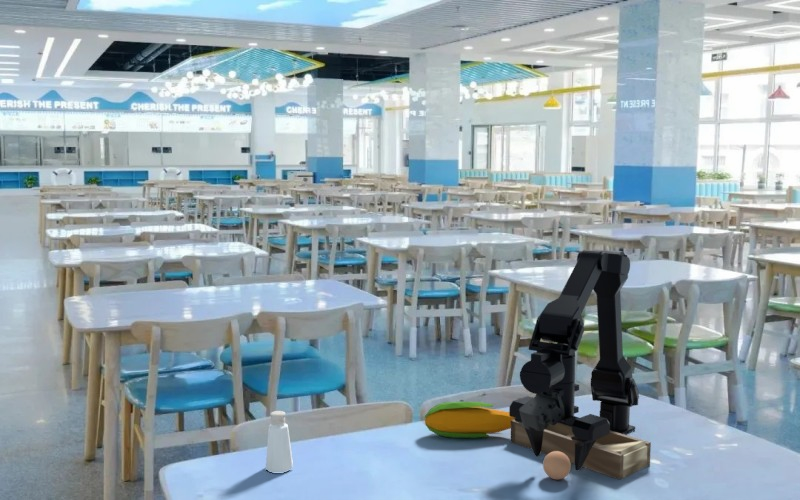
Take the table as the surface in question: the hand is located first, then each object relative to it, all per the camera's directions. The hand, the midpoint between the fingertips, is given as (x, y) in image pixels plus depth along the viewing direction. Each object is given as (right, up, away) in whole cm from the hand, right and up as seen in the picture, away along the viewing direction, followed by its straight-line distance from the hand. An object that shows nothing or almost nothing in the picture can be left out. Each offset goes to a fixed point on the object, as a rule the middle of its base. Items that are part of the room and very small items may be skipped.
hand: (557, 462), depth 150 cm
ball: (0, 0, 0) cm, 0 cm away
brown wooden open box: (+6, -1, +13) cm, 14 cm away
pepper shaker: (-51, -3, +6) cm, 52 cm away
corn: (-13, 0, +23) cm, 27 cm away
